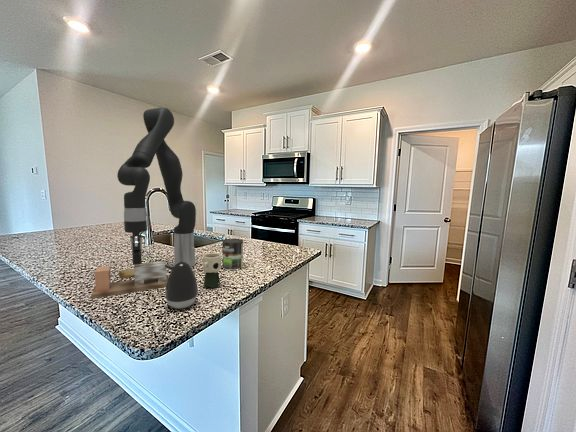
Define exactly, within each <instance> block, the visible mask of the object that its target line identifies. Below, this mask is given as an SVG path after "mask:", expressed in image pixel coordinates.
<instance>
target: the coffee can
mask: <svg viewBox="0 0 576 432" xmlns="http://www.w3.org/2000/svg"><path fill="white" fill-rule="evenodd" d="M221 242H222V257H221V262H222V266H221V269H222V268H223V269H222V270H224V269H225V270H224V271H227V270H236V269H240V268H242V266H243V264H244V263H243V262H244V261H243V258H244V256H243V255H244V254H243V253H244V247H243V246H244V239H240V238H224V239H222V240H221ZM242 269H243V268H242ZM240 270H241V269H240ZM236 271H237V270H236Z"/></svg>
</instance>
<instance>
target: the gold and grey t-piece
mask: <svg viewBox="0 0 576 432" xmlns="http://www.w3.org/2000/svg"><path fill="white" fill-rule="evenodd" d="M131 249H132V248H131ZM131 251H132V253H131V255H132V265H134V266H135V267H138V266H140V264H143V261H142V259H143V258H142V248H141V249H140V252H141V254H140V260H141V263H140V264H134V255H133V249H132V250H131ZM135 251H139V250H135ZM118 277H119V278H118V279H126V278H127V279H128V278H133V277H134V278H135V274H134V268H130V269H129V268H128V269H121V270H118Z"/></svg>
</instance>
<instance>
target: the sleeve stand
mask: <svg viewBox="0 0 576 432" xmlns="http://www.w3.org/2000/svg"><path fill="white" fill-rule="evenodd" d="M166 264H167V263H166V261H165V260H164V261H156V262H147V263H142V264H140V266H138V267H135V266H134V267H133V269H134V274H135V277H134V279H128V280H122V281H116V282H115V281H114V282H111V286H110V290H107V291H100V292H96V288H95V287H94V288H93V290H92V291H91V294H90V295H91V298H90V299H91V300H93V299H94V300H95V299H100V298H106V297H110V296H111V297H112V296H118V295H124V294H130V293H131V294H132V293H137V292H143V291H149V290H155V289H162V288H166V285H167V281H168V277H169V275H168V274H167V268H166V267H165V265H166Z"/></svg>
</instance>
